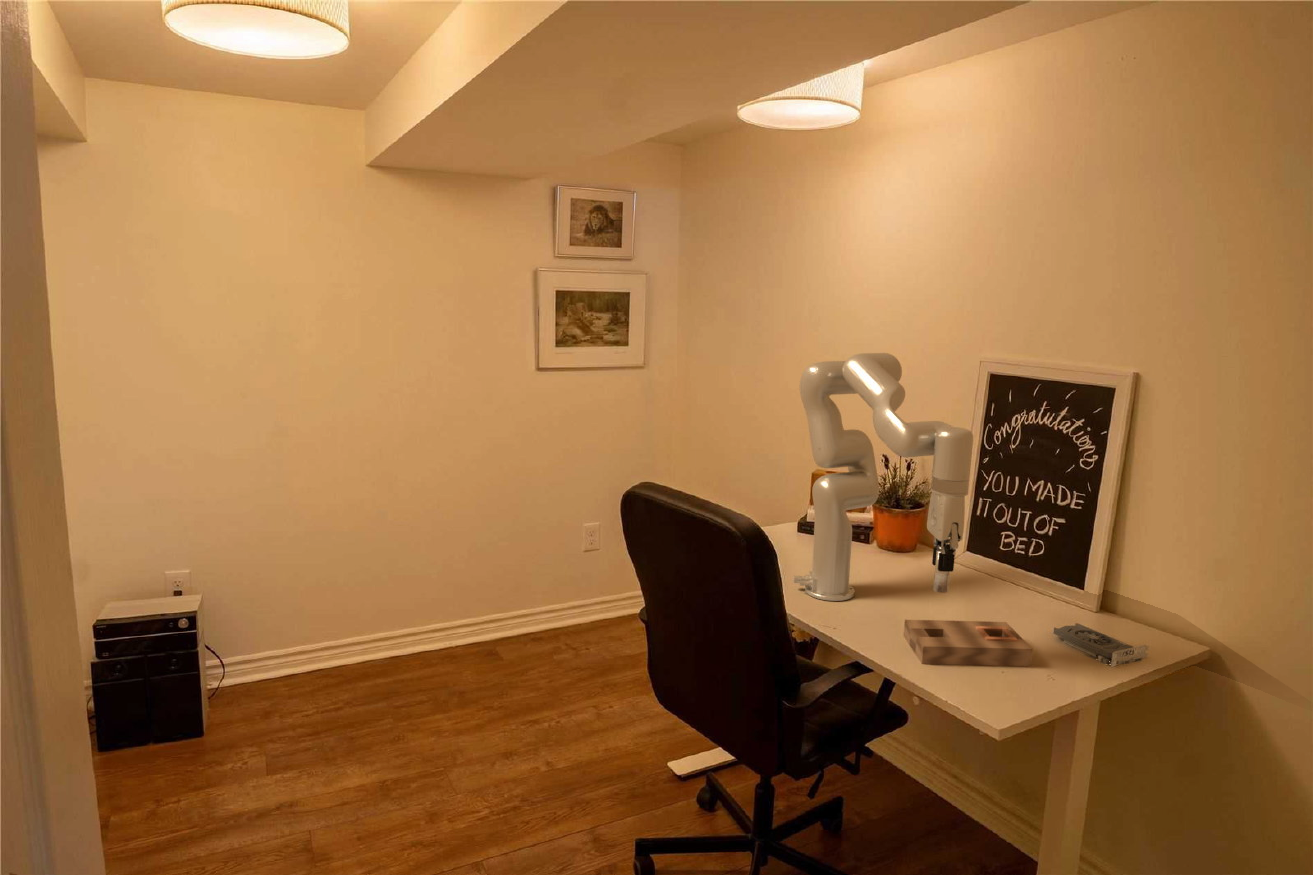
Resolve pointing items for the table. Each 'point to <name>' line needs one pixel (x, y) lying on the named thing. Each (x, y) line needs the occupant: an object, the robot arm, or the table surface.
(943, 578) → the lock pin
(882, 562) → the table surface
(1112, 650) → the graphics card
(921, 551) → the table surface
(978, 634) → the pin board
